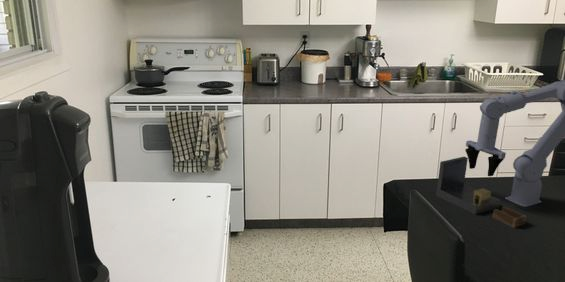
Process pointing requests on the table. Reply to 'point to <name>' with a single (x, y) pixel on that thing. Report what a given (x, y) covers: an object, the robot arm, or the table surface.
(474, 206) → the dark grey l-shaped block
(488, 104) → the robot arm
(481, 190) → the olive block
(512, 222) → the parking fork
